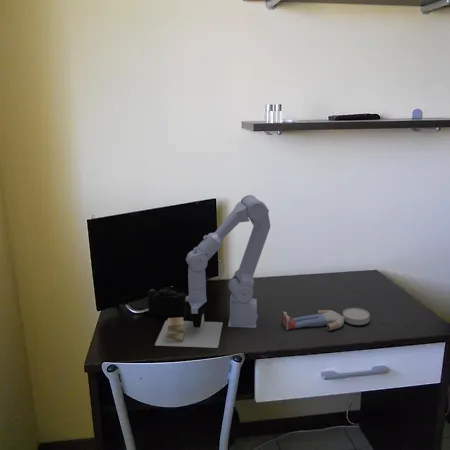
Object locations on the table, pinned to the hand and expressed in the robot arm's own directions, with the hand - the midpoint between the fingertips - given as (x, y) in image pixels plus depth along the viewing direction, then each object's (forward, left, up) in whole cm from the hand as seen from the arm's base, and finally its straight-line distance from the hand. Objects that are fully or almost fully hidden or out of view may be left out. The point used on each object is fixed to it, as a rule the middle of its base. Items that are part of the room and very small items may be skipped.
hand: (198, 323), depth 164 cm
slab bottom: (+6, +8, -1) cm, 10 cm away
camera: (+12, -11, -2) cm, 17 cm away
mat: (+2, +5, -2) cm, 5 cm away
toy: (-43, -7, -2) cm, 44 cm away
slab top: (+6, +8, +2) cm, 10 cm away
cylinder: (0, 0, -1) cm, 1 cm away
